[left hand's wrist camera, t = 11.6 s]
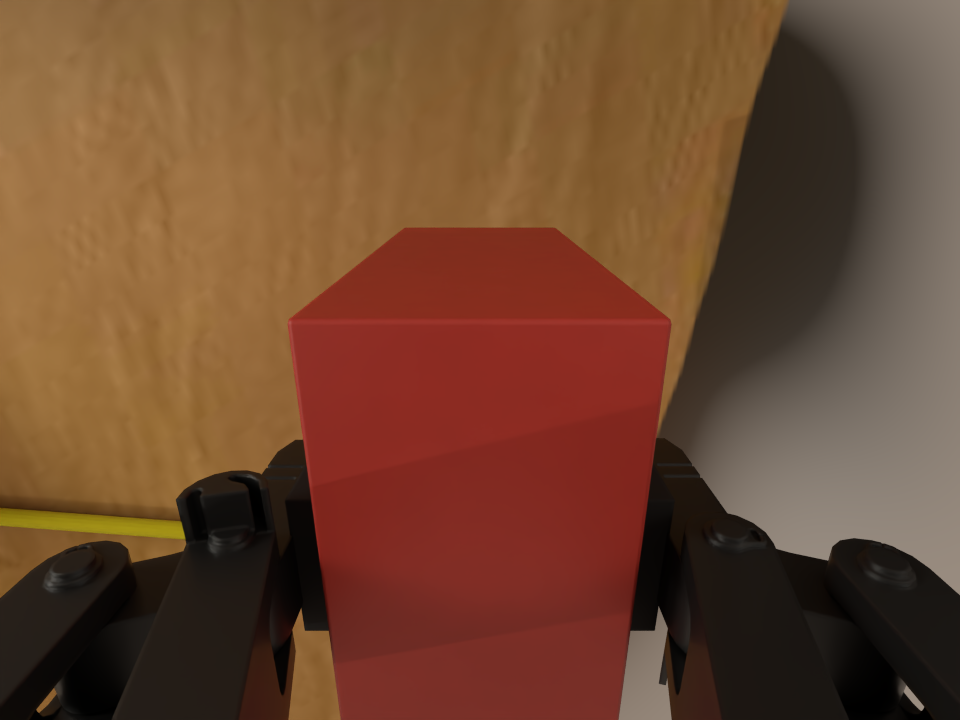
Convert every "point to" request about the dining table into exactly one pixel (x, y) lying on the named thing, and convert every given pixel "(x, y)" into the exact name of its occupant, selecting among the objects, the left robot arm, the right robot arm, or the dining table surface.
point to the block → (479, 473)
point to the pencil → (91, 523)
